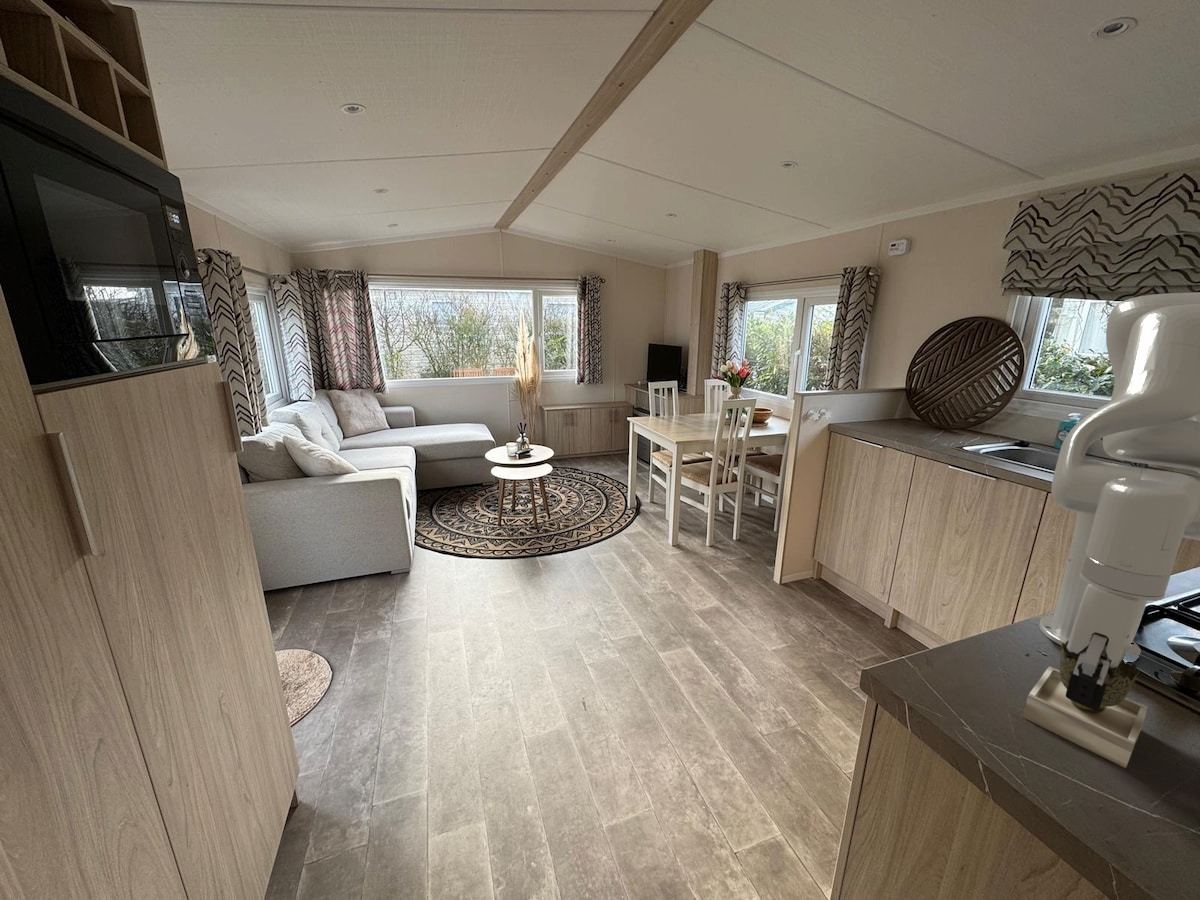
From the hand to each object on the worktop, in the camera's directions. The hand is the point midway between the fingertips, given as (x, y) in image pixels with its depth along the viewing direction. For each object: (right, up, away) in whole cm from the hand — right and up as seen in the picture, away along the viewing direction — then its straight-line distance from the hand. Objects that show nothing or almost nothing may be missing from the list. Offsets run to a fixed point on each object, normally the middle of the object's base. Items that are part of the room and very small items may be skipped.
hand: (1090, 687), depth 66 cm
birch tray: (0, -6, +1) cm, 6 cm away
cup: (0, -3, +1) cm, 4 cm away
